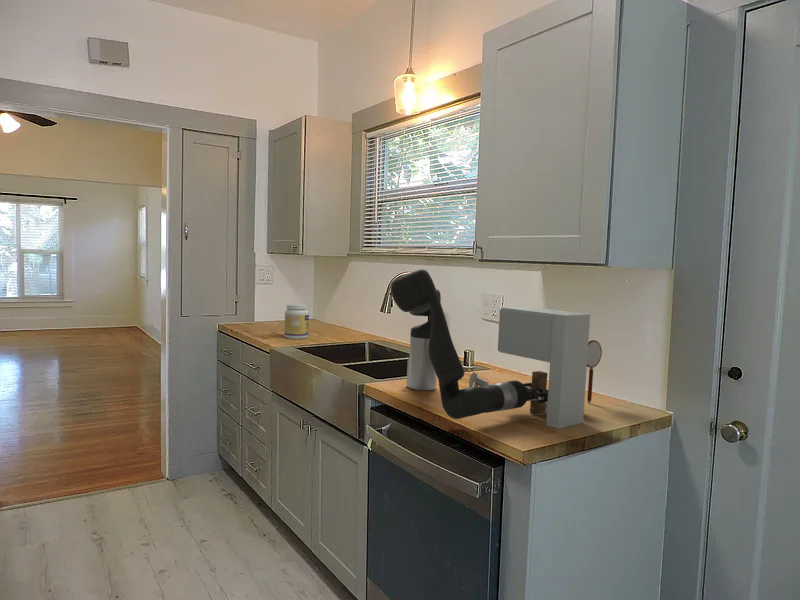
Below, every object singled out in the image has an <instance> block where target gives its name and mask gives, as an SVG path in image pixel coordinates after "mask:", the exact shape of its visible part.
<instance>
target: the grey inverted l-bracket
mask: <svg viewBox="0 0 800 600" xmlns="http://www.w3.org/2000/svg"><path fill="white" fill-rule="evenodd" d="M590 321H591V313H582V312H573V311H565V310H556V309H548V308H540V307H533V306H531V307H530V306H505V307H504V306H503V307H501V308H500V309H499V320H498V335H497V336H498V337H497V338H498V339H497V351H498V353H503V354H507V355H510V356H516V357H520V358H526V359H531V360H535V361H536V360H537V361H540V362H546V363H549V372H548V386H547V388H548V403H547V413H546V421H545V422H546V423H545V425H546V426H547V427H551V428H554V429H558V430H560V429H564V428H570V427H573V426H576V425H579V424H580V425H581V424H583V423H584V416H585V415H584V413H585V402H586V401H585V400H586V399H585V398H586V387H587V386H586V385H587V370H588V367H587V356H588V342H589V341H590V340H589V338H590V326H591V325H590V323H591V322H590Z"/></svg>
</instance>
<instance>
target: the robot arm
mask: <svg viewBox="0 0 800 600" xmlns="http://www.w3.org/2000/svg"><path fill="white" fill-rule="evenodd" d="M390 287H391V288H390V293H391V297H392V299H393V302H394V303H395V305H396V306H397V307H398V309H399V310H401V311H402V312H404V313H409V314H410V315H412V316H415V317H429V319H428V320H427V321H425V322H424V323H422V324H418V325H415V326H413V327H411V329H410V337H409V338H410V341H409V357H407V368H406V369H407V370H406V386H407V387H408V389H412V390H415V391H432V390H435V388H437V381H438V385H439V386H438V387H439V393H440V401H441V405H442V407H443V410H444V412H445V413H446V414H447V415H448V416H449V417H450V418H451V419H454V420H460V419H464V418H468V417H473V416H477V415H481V414H488V413H493V412H504V411H509V410H515V409H518V408H522V407H523V406H524V405H525V404H526V403H527V402H531V400H535V401H537V402H538V403H543V402H548V389H547V388H546V390H542V389H541V388H535V387H532V382H525V383H523V382H521V381H519V380H516V379H515V380H509V381H502V382H497V383H494V384H491V385H488V386H483V387H480V386H478V387H474V386H472V387H470V388H469V387H466V388H462V389H460V386H459V381H460V380H462V379H463V377H464V376H465V370H464V366H463V365H462V362H461V360H460V358H459V355H458V353H457V350H456V347H455V346H454V342H453V339H452V336H451V333H450V330H449V326H448V323H447V319H446V316H445V312H444V310H443V306H442V303H441V299H442V297H441V296H442V295H441V292H440V290H439V289H437V288H436V285H435V283H434V280H433V279H432V277H431V275H430V273H429V272H428V271H427V269H425V268H420V269H417V270H414V271H412V272H409V273H407V274H405V275H404V274H403V276H400V277H397V278H396V279H394V280H393V281H392V282H391V286H390ZM535 390H538V393H537V395H535V394H536V391H535Z"/></svg>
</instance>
